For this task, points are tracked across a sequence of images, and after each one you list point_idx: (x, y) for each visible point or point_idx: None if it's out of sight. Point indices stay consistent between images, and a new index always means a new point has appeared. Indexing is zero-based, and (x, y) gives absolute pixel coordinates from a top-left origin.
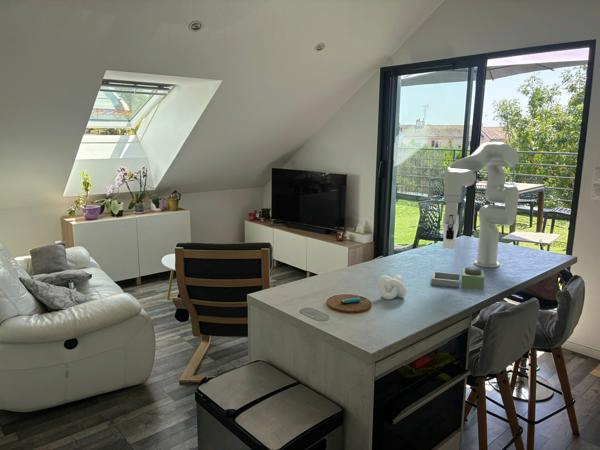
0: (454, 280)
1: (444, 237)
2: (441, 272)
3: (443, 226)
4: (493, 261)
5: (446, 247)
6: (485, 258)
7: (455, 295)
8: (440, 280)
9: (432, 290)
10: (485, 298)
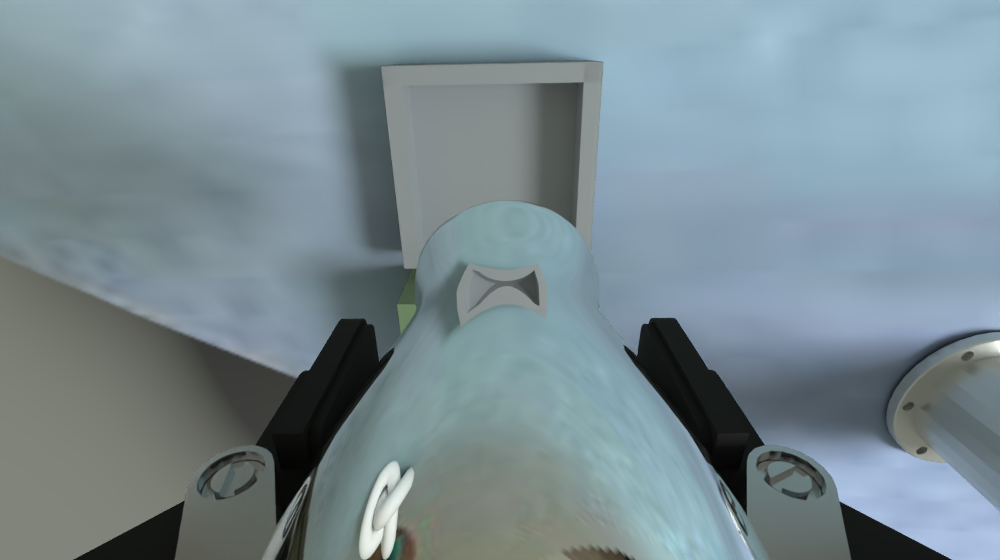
0: (411, 236)
1: (445, 286)
2: (587, 134)
3: (372, 415)
4: (935, 450)
5: (419, 261)
6: (959, 424)
7: (255, 233)
8: (390, 137)
9: (272, 82)
10: (294, 374)
